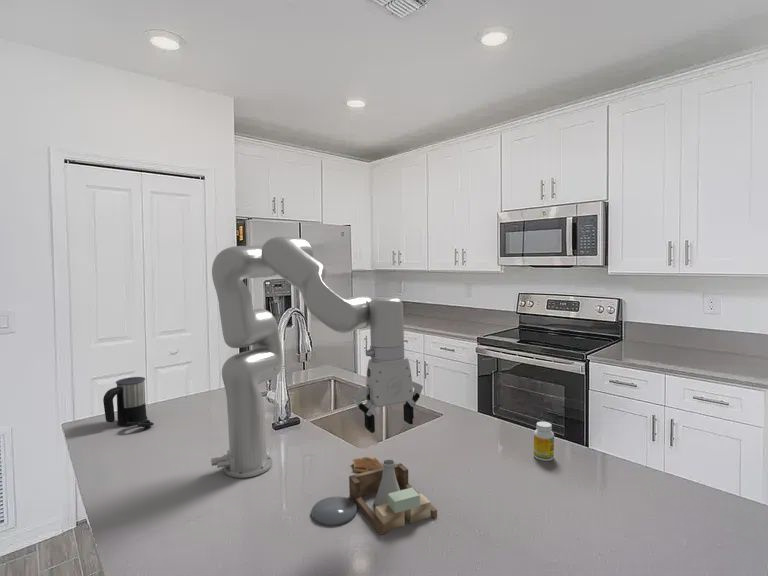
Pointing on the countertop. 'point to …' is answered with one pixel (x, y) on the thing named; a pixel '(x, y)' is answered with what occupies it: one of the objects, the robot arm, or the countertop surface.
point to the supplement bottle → (544, 441)
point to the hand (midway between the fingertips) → (389, 426)
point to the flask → (386, 482)
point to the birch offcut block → (419, 510)
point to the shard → (366, 464)
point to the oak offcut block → (389, 517)
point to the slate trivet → (334, 511)
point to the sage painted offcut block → (403, 500)
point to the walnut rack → (370, 484)
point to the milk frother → (127, 403)
